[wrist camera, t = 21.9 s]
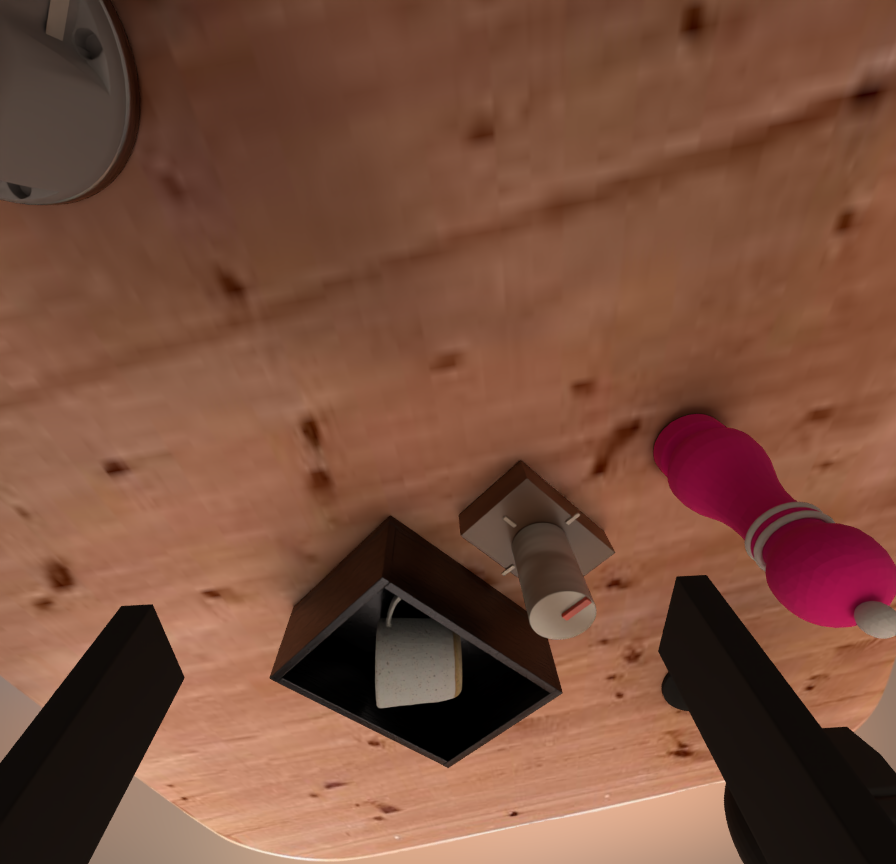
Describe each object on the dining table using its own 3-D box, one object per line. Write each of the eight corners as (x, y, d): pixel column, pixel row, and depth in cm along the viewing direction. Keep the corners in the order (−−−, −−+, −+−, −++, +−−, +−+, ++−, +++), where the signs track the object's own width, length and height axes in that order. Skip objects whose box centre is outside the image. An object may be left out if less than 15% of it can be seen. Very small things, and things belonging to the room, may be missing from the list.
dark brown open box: (293, 607, 47) (268, 678, 40) (390, 515, 43) (382, 577, 36) (445, 694, 54) (448, 768, 47) (543, 623, 50) (562, 693, 43)
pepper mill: (743, 413, 39) (1005, 585, 21) (709, 484, 42) (915, 686, 24) (663, 402, 39) (866, 571, 21) (635, 475, 42) (791, 677, 24)
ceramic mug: (457, 651, 50) (462, 722, 43) (382, 654, 49) (374, 726, 42) (458, 576, 45) (464, 641, 38) (375, 578, 45) (366, 645, 38)
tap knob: (537, 574, 43) (560, 652, 35) (500, 547, 41) (515, 622, 34) (578, 542, 41) (611, 616, 34) (541, 512, 39) (567, 583, 32)
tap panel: (454, 519, 43) (455, 541, 40) (525, 455, 40) (532, 474, 38) (538, 582, 47) (545, 606, 44) (609, 528, 44) (621, 550, 41)
